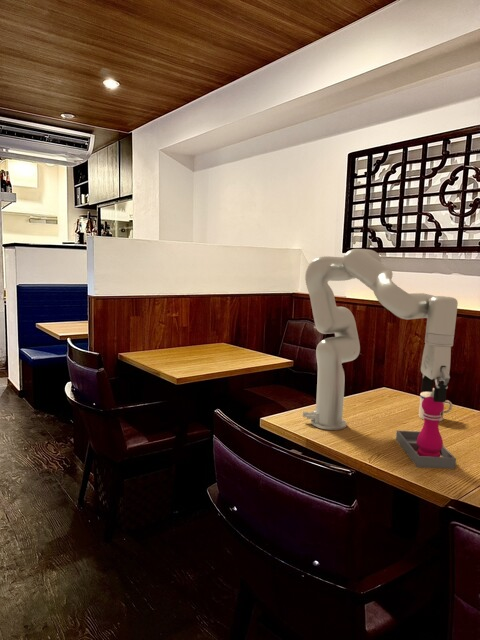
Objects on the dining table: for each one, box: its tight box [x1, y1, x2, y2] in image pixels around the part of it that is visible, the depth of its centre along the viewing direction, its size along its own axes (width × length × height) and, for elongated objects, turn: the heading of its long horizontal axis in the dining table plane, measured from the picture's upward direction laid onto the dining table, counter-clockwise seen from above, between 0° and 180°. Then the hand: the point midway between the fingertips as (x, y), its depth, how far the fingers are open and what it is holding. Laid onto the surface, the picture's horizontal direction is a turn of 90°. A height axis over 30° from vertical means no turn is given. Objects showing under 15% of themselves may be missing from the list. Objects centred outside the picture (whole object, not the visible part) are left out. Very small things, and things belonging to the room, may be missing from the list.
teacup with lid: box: [418, 387, 453, 422], centre depth 173 cm, size 12×9×12 cm
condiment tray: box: [395, 429, 457, 470], centre depth 140 cm, size 11×21×3 cm, turn 177°
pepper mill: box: [417, 392, 445, 457], centre depth 134 cm, size 7×7×20 cm
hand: (432, 396), depth 134 cm, fingers open, 9 cm apart
